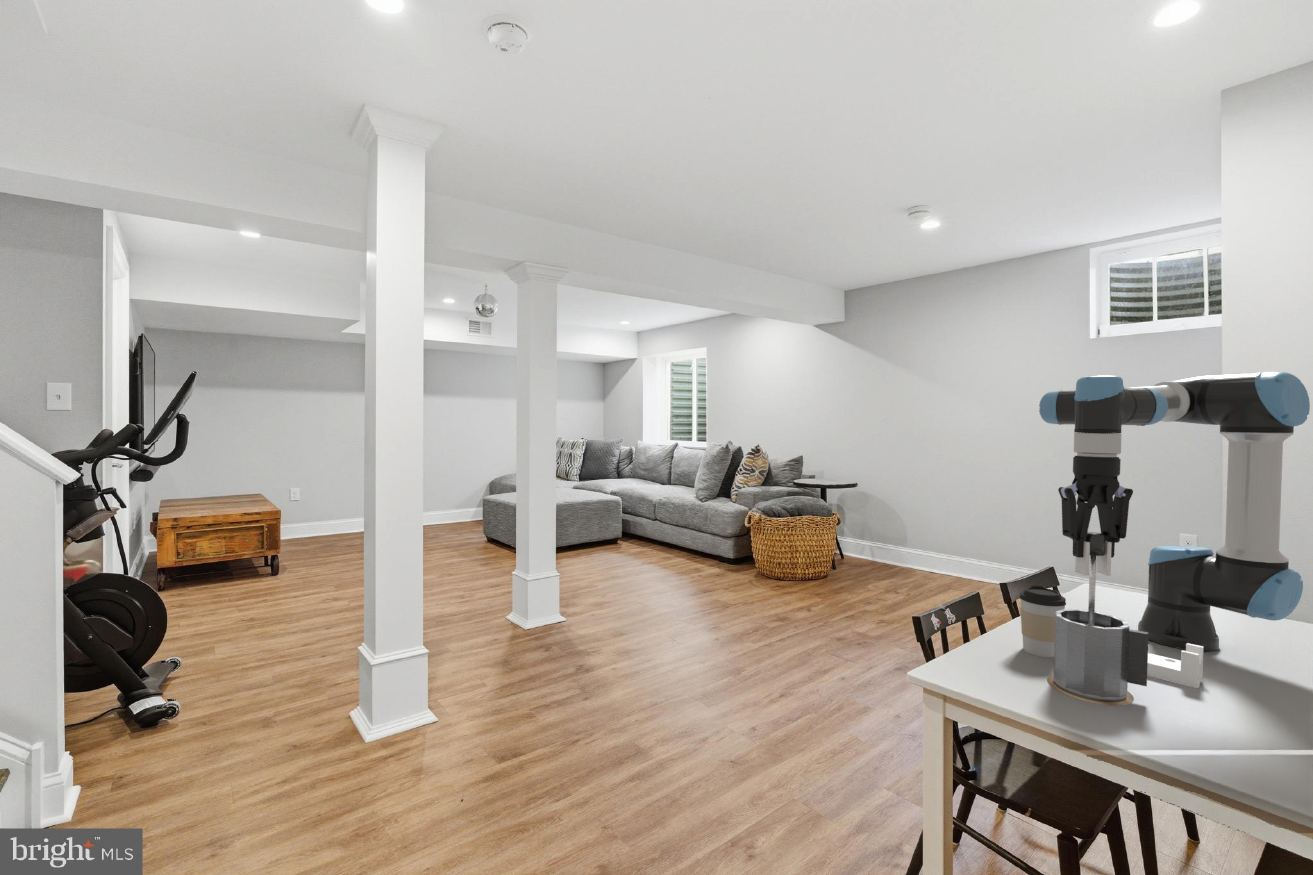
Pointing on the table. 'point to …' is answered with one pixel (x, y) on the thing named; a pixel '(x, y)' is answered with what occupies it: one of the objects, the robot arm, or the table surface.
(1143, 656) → the grey hollow faceted piece
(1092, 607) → the plunger
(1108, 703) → the trivet
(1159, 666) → the bracket
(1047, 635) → the coffee cup
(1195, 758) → the table surface
